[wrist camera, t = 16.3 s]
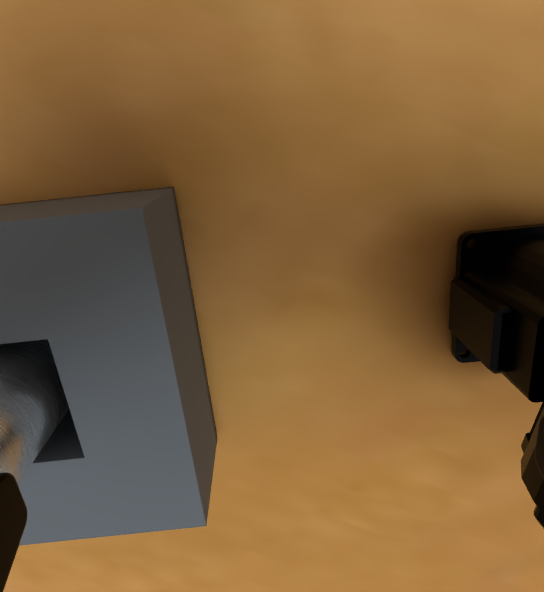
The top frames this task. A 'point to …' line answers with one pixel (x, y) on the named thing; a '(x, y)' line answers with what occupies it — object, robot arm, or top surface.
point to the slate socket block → (111, 364)
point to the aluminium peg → (27, 403)
